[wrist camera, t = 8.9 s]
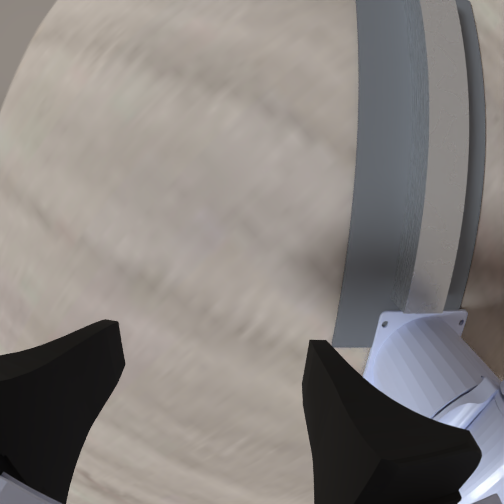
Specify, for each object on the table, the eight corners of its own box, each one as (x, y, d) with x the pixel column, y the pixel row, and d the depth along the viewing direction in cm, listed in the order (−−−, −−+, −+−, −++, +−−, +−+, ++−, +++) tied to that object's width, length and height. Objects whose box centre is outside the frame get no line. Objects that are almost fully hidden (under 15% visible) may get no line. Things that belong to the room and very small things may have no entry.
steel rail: (426, 298, 19) (442, 313, 17) (390, 297, 19) (403, 313, 17) (438, 4, 13) (453, -9, 11) (402, -8, 14) (415, -24, 11)
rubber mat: (446, 341, 21) (448, 343, 20) (331, 344, 21) (332, 347, 21) (467, 2, 13) (469, 1, 13) (352, -36, 14) (353, -39, 13)
